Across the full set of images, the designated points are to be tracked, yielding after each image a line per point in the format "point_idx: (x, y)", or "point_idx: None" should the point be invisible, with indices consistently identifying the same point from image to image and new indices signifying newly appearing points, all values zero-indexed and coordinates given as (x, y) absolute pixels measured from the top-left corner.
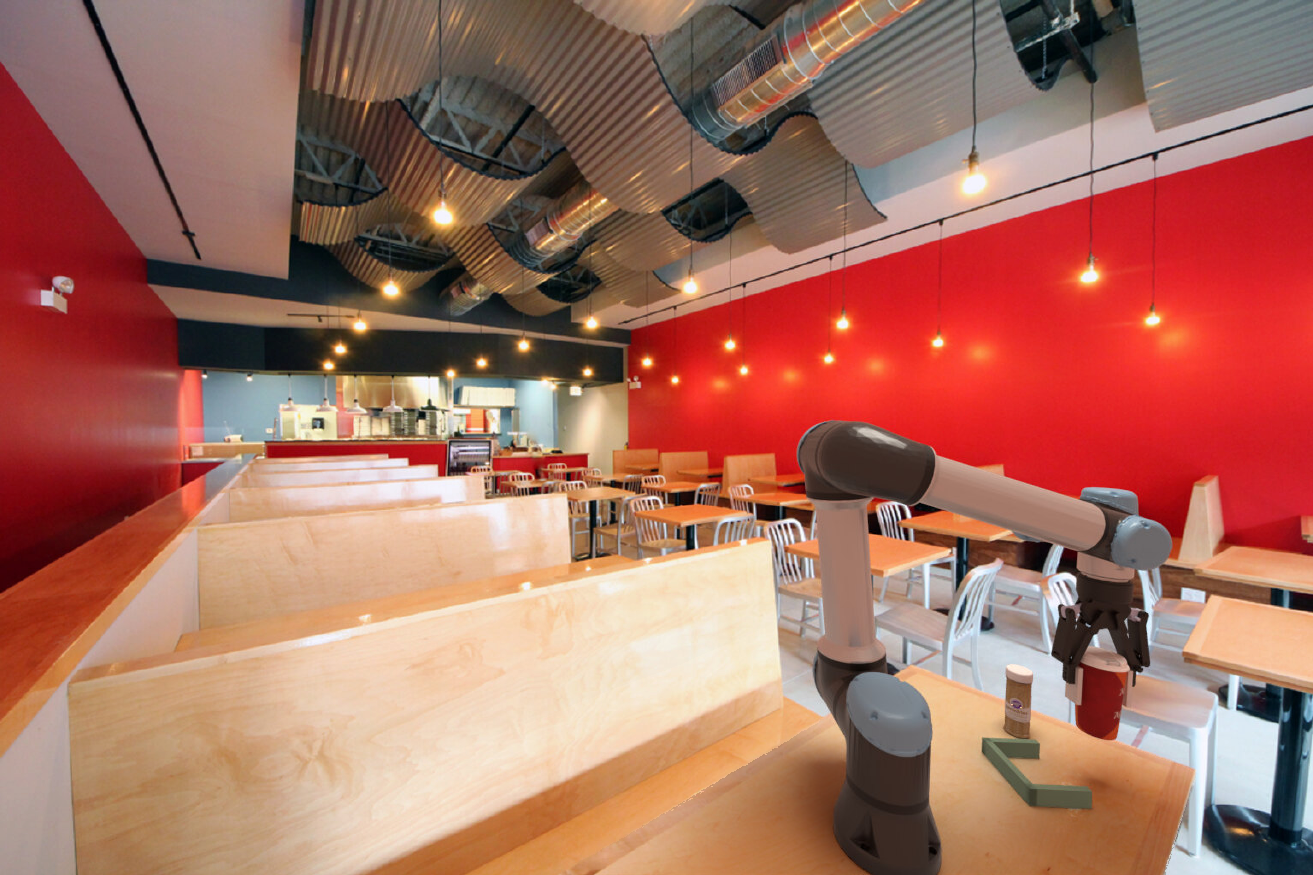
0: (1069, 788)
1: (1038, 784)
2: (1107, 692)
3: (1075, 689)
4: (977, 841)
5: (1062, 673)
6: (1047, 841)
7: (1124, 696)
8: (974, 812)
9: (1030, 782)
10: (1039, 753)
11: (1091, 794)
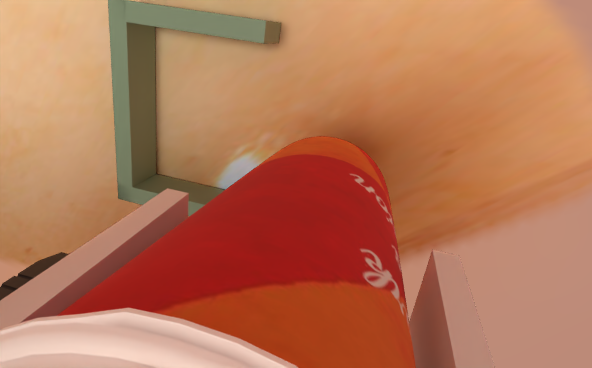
0: None
1: (144, 190)
2: None
3: None
4: (24, 230)
5: (13, 277)
6: None
7: (417, 348)
8: (41, 180)
9: (130, 183)
10: (274, 42)
11: None
